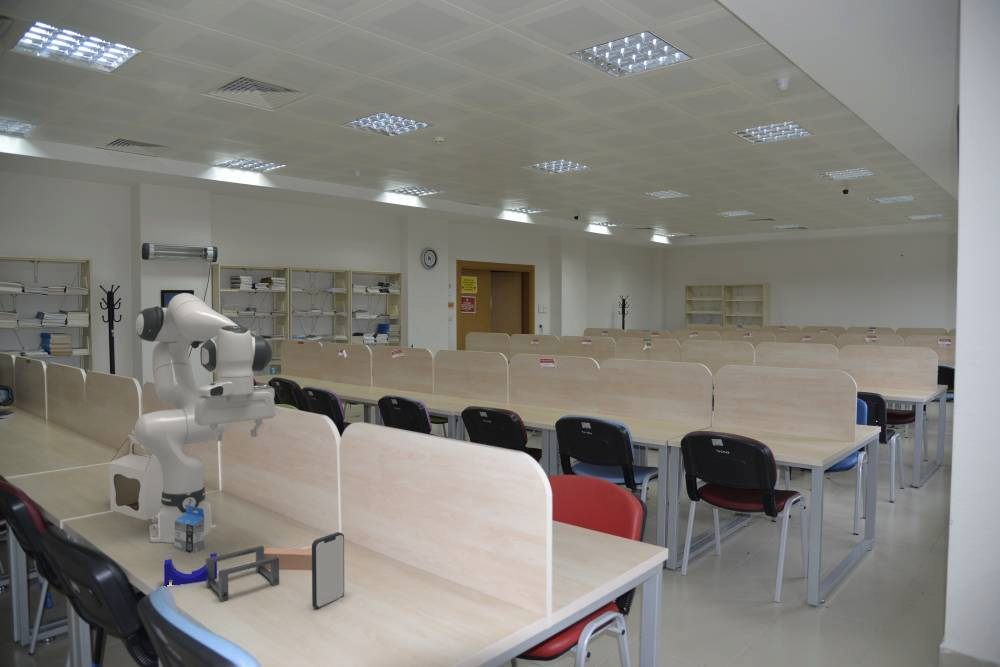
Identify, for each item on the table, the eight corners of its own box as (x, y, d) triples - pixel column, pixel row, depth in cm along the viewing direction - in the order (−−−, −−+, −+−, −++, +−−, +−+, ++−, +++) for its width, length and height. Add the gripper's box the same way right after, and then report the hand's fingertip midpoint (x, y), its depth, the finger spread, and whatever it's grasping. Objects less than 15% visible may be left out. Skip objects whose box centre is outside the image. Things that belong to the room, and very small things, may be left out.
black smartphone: (340, 595, 156) (340, 530, 155) (345, 597, 155) (344, 531, 155) (310, 608, 149) (310, 540, 148) (315, 610, 148) (314, 542, 147)
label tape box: (173, 549, 186) (173, 507, 186) (186, 545, 190) (185, 504, 189) (192, 555, 182) (192, 512, 182) (205, 550, 185) (205, 508, 185)
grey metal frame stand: (206, 586, 161) (205, 558, 161) (262, 571, 170) (261, 545, 170) (221, 602, 152) (221, 572, 152) (279, 585, 162) (278, 558, 161)
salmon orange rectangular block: (260, 571, 171) (260, 553, 171) (267, 566, 175) (267, 547, 175) (319, 573, 170) (319, 555, 169) (324, 567, 174) (324, 549, 173)
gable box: (109, 512, 221) (108, 431, 220) (147, 503, 232) (146, 426, 231) (146, 523, 209) (144, 438, 208) (184, 512, 221) (183, 431, 220)
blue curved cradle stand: (217, 573, 170) (216, 551, 169) (216, 580, 165) (216, 557, 165) (166, 580, 165) (165, 557, 165) (164, 587, 161) (164, 564, 161)
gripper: (270, 383, 180) (270, 432, 180) (192, 388, 167) (192, 441, 167) (278, 385, 175) (279, 435, 176) (199, 390, 162) (200, 445, 162)
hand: (236, 438), depth 171 cm, fingers open, 8 cm apart
